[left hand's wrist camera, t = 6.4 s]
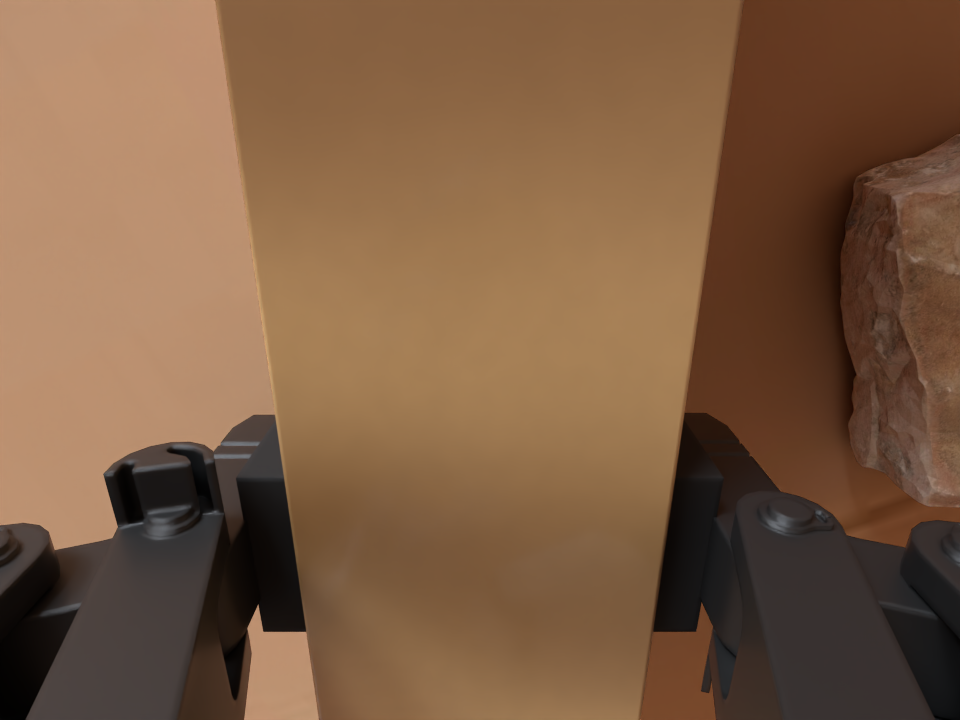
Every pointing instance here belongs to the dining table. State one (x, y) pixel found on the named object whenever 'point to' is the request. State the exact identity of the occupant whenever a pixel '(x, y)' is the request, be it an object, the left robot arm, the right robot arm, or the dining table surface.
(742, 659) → the left robot arm
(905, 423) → the stone
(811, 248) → the dining table surface
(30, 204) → the dining table surface
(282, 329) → the post
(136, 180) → the dining table surface
